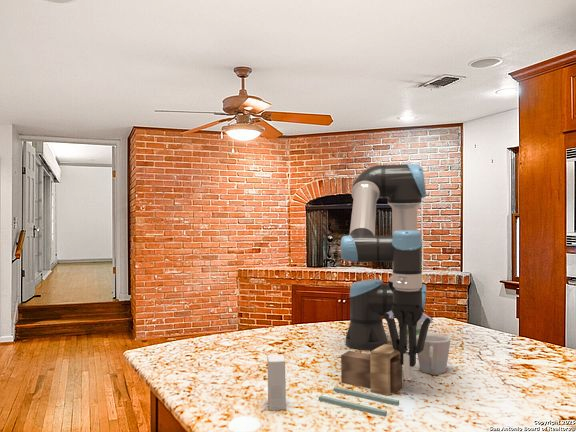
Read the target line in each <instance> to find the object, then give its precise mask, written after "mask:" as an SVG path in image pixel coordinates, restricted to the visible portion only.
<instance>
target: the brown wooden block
mask: <svg viewBox="0 0 576 432" xmlns="http://www.w3.org/2000/svg"><path fill="white" fill-rule="evenodd" d="M340 372H341V373H340V374H341V375H340V377H341V379H340V382H341V384H344V385H350V386H354V387H360V388H365V389H368V390H369V389H370V390H371V378H370V353H365V352H357V351H353V350H352V351H351V350H348V351H346V352H344V353H342V354H341V355H340ZM390 389H391V394H394V395H395V394H398V393H399V392H401V390H402V389H403V365H401V363H400V359H397V358H391V359H390Z"/></svg>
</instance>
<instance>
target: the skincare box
mask: <svg viewBox="0 0 576 432" xmlns="http://www.w3.org/2000/svg"><path fill="white" fill-rule="evenodd" d="M266 356H267V361H266V362H267V401H268V409H269V410H268V411H281V410H282V411H283V410H286V409H287V402H286V401H287V400H286V399H287V397H286V393H287V392H286V391H287V389H286V387H287V386H286V385H287V384H286V360H285V359H286V358H285V356H284V353H281V354H280V353H278V354H273V353H272V354H267V355H266Z"/></svg>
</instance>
